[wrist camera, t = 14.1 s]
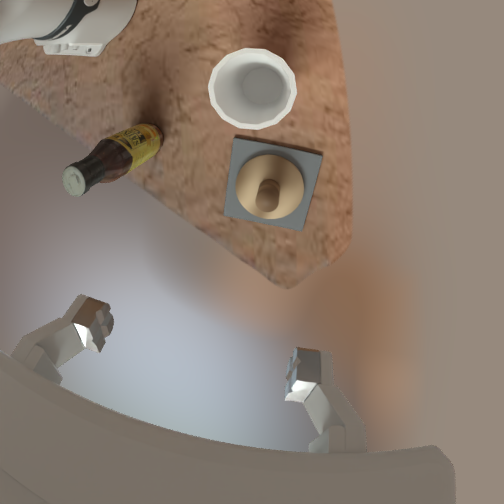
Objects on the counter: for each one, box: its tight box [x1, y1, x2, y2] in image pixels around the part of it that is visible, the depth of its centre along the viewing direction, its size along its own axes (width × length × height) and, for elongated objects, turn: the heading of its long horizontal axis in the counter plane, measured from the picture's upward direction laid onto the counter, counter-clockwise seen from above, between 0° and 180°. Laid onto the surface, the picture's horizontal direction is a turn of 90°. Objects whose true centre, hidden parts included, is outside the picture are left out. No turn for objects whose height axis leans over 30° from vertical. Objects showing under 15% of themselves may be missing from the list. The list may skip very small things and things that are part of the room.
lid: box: [235, 154, 304, 219], centre depth 43 cm, size 11×11×6 cm
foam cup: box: [208, 48, 297, 130], centre depth 31 cm, size 10×9×13 cm
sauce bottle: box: [62, 123, 163, 197], centre depth 35 cm, size 6×6×20 cm
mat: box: [224, 138, 323, 231], centre depth 46 cm, size 14×14×1 cm
